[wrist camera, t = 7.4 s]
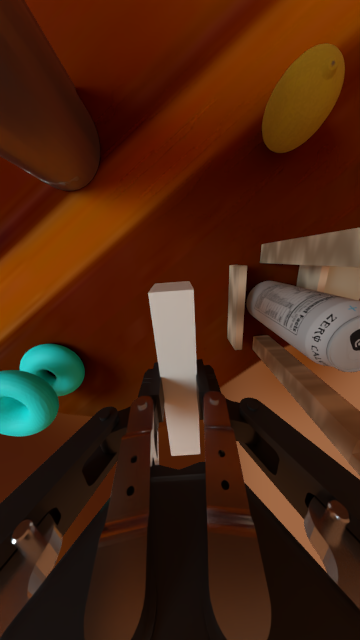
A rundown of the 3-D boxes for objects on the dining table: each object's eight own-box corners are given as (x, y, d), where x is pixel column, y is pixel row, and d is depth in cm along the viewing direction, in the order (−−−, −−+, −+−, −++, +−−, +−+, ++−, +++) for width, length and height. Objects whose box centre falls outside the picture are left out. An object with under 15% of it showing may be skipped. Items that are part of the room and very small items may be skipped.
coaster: (307, 248, 24) (312, 247, 23) (370, 243, 24) (376, 242, 23) (297, 308, 27) (300, 309, 26) (352, 304, 27) (357, 305, 26)
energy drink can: (253, 323, 28) (331, 389, 14) (237, 293, 26) (310, 334, 12) (287, 304, 27) (410, 355, 13) (273, 272, 25) (400, 289, 11)
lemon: (257, 101, 18) (313, -7, 11) (304, 110, 19) (389, 11, 11) (244, 163, 20) (284, 107, 13) (287, 170, 21) (351, 120, 13)
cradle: (230, 246, 24) (396, 209, 6) (310, 240, 24) (733, 182, 6) (227, 350, 29) (304, 491, 12) (291, 345, 29) (469, 479, 12)
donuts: (60, 437, 22) (-13, 445, 22) (94, 384, 31) (43, 389, 32) (28, 377, 19) (-58, 386, 19) (77, 337, 28) (20, 344, 28)
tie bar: (154, 283, 12) (148, 292, 9) (189, 281, 12) (193, 289, 9) (172, 423, 17) (171, 455, 14) (196, 421, 17) (200, 453, 14)
